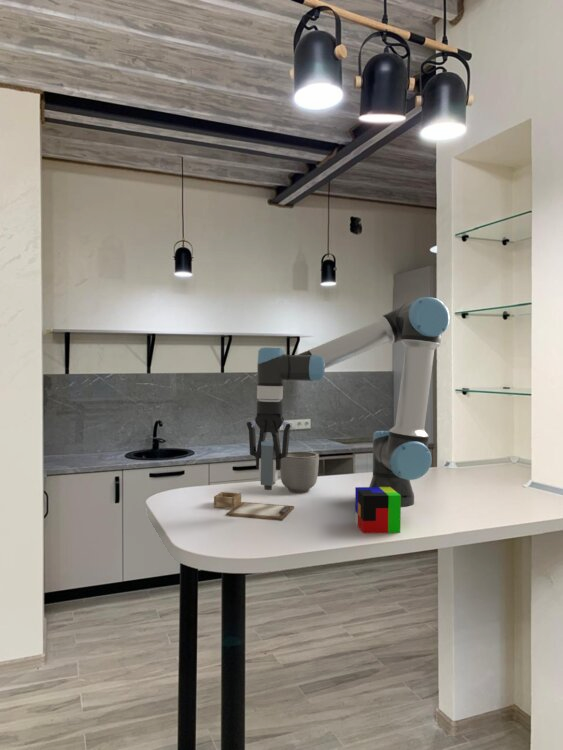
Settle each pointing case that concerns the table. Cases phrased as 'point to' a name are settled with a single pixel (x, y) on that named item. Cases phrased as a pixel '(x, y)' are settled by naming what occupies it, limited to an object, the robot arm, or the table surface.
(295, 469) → the planter
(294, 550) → the table surface
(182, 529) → the table surface
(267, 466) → the blue-grey tall block
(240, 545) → the table surface
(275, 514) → the clipboard
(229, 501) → the holder
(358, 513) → the puzzle toy
